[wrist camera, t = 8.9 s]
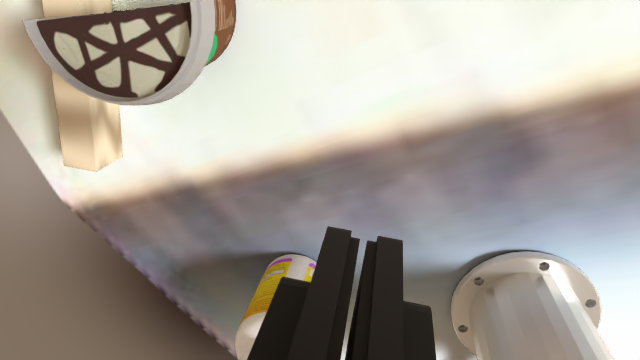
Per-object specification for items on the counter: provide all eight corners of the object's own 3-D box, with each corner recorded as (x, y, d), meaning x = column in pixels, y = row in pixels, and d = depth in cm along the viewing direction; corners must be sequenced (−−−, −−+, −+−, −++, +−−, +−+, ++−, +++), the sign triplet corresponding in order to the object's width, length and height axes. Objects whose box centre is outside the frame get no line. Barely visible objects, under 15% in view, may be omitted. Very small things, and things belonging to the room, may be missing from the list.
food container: (130, 87, 38) (48, 117, 29) (111, 13, 36) (14, 20, 27) (265, 77, 36) (220, 106, 27) (253, -4, 34) (199, -2, 25)
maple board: (122, 156, 41) (95, 171, 38) (92, 150, 42) (63, 165, 38) (103, -121, 32) (65, -135, 29) (65, -125, 33) (23, -140, 29)
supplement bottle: (259, 294, 45) (210, 399, 34) (273, 242, 42) (225, 337, 31) (321, 315, 45) (293, 428, 33) (339, 264, 42) (316, 368, 30)
